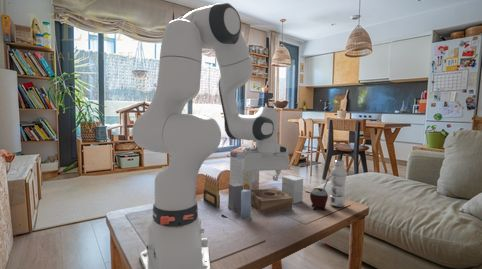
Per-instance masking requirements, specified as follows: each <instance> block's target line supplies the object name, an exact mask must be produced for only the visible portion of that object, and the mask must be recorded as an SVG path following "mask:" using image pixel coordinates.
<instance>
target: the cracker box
mask: <svg viewBox="0 0 482 269" xmlns="http://www.w3.org/2000/svg"><path fill="white" fill-rule="evenodd" d="M243 150H244V149H239V148H237V149H230V157H229V158H230V159H229V161H230V162H229V184H231V183H239V184H241V185H243V190H257V189H260V171H255V174H254V176H255V177H257V182H252V176H251V174H250V171H244V170H243V169H242V168H241V165H242V159H243V157H242V152H243Z"/></svg>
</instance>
